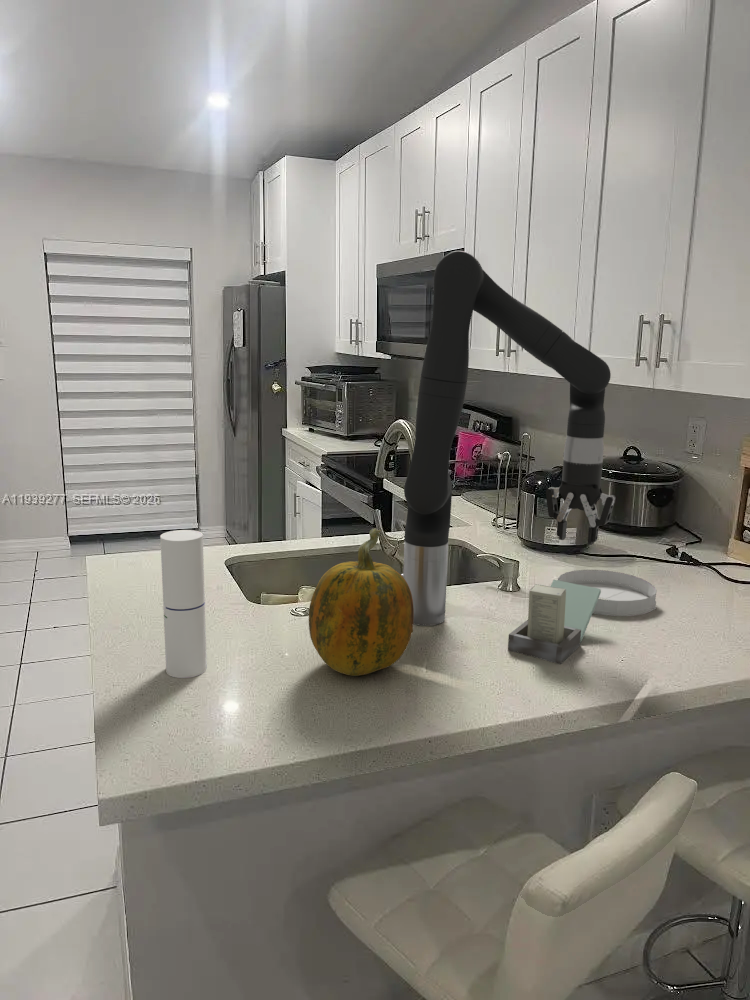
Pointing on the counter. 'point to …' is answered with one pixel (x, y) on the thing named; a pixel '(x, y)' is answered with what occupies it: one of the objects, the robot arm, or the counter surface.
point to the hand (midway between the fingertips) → (576, 541)
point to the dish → (616, 591)
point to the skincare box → (546, 613)
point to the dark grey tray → (544, 644)
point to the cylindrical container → (184, 603)
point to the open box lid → (578, 604)
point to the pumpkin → (361, 614)
